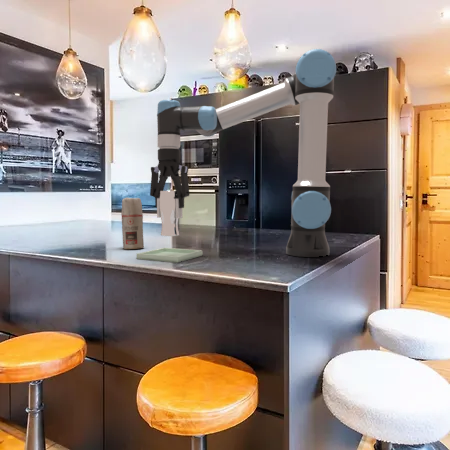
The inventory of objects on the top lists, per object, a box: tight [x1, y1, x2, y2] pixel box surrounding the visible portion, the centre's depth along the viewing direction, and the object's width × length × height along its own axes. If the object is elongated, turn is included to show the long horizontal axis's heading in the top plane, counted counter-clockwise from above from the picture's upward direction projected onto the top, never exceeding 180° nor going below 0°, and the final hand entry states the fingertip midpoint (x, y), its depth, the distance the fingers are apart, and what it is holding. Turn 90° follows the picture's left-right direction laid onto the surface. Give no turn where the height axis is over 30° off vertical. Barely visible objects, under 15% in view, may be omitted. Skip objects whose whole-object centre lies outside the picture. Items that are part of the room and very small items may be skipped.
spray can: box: [121, 197, 145, 250], centre depth 159 cm, size 8×8×20 cm
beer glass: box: [159, 190, 180, 237], centre depth 137 cm, size 7×7×15 cm
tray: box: [136, 247, 204, 264], centre depth 139 cm, size 16×16×2 cm
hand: (169, 217), depth 138 cm, fingers closed on beer glass, 7 cm apart
